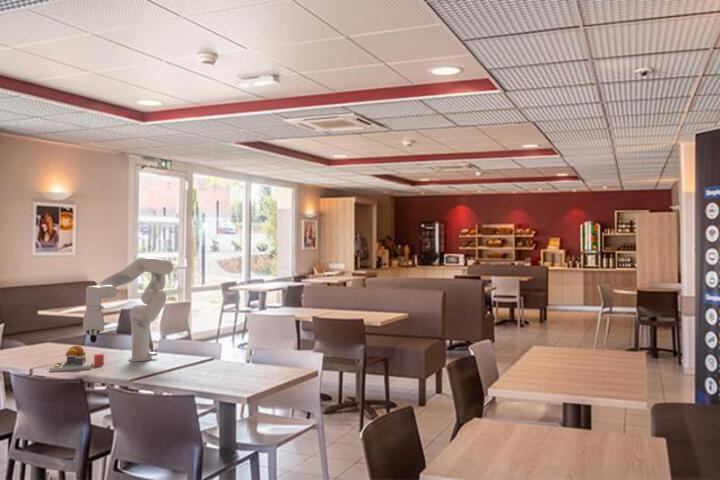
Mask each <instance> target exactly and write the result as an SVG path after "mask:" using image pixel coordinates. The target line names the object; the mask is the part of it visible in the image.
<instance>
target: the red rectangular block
mask: <svg viewBox="0 0 720 480" xmlns="http://www.w3.org/2000/svg"><path fill="white" fill-rule="evenodd" d="M93 357H94V359H93V360H94V365H93V367H99V366H100V367H102V365H103V366H104V365H105V353H104V352H103V353H102V352H101V353H95V354H94V356H93Z"/></svg>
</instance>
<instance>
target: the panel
mask: <svg viewBox="0 0 720 480" xmlns="http://www.w3.org/2000/svg"><path fill="white" fill-rule="evenodd" d="M92 366H93V367H94V361H87V360H86V359H85V360H84V364H80V365H75V363H67V360H66V361H64V362H60V361H59V362H55V363H53V364H52V365H51V366H50V367H49V373H51V372H52V373H53V372H67V371H66V370H73V371H81V370H80V369H89V370H92V368H93V367H92ZM91 367H92V368H91Z"/></svg>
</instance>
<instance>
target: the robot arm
mask: <svg viewBox="0 0 720 480" xmlns="http://www.w3.org/2000/svg"><path fill="white" fill-rule="evenodd" d="M173 270H174V264H173V263H172V261H170V260H168V259H162V258H161V259H160V258H155V257H143V256H140V257H137V258H136V259H134V260H133V261H132V262H131V263H129V264H128V265H127V266H125V267H124V268H123V269H122V270H120V271H118V272H115V273H114V274H111V275H110V276H108V277H105V278H104V279H103V280H102V281H101V282H99V283H98V284H97V285H89V286H87V287H86V288H85V294H86V295H85V311H84V314H83V320H82V321H83V322H82V332H83V333H87V334H88V335H89V337H90V338H89V339H90V340H89V341H90V343H91V344H92V343H96V342H97V338H98V337H97V336H98V334H99V333H102V332H104V331H105V327H104V326H105V317H104V311H103V310H104V309H105V306H103V305H102V299H107V300H110V299H113V298H115V297H116V296H117V295H118V289H117V287H120V286H123V285H127V284H131V283H132V282H133V281H135V280H137V278H138V277H140V276H141V275H143V273H150V281H149V284H148V285H147V286H146V288H145V290H144V291H143V293H142V295H141V299H140V300H141V302H142V303H143V304H137V305H133V307H131V309H130V311H129V318H130V319H129V320H130V325H131V356H130V357H128V361H130V362H144V361H145V362H146V361H150V360H152V358H153V357H156V356H158V352H157V351H155V352H154V351H153V352H151V350H150V327H149V323H152V322H154V321H155V320H156V319H157V318H158V316H159V315H160V312H161V311H162V309H163V307H164V306H165V305H166V302H167V294H166V292H165V291H163V290H164V288H165V285H166V276H167V275H170V274H172V272H173ZM93 331H94V333H93Z"/></svg>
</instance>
